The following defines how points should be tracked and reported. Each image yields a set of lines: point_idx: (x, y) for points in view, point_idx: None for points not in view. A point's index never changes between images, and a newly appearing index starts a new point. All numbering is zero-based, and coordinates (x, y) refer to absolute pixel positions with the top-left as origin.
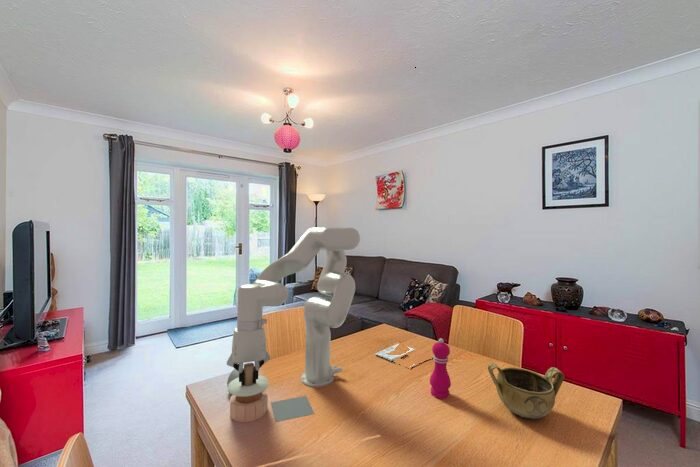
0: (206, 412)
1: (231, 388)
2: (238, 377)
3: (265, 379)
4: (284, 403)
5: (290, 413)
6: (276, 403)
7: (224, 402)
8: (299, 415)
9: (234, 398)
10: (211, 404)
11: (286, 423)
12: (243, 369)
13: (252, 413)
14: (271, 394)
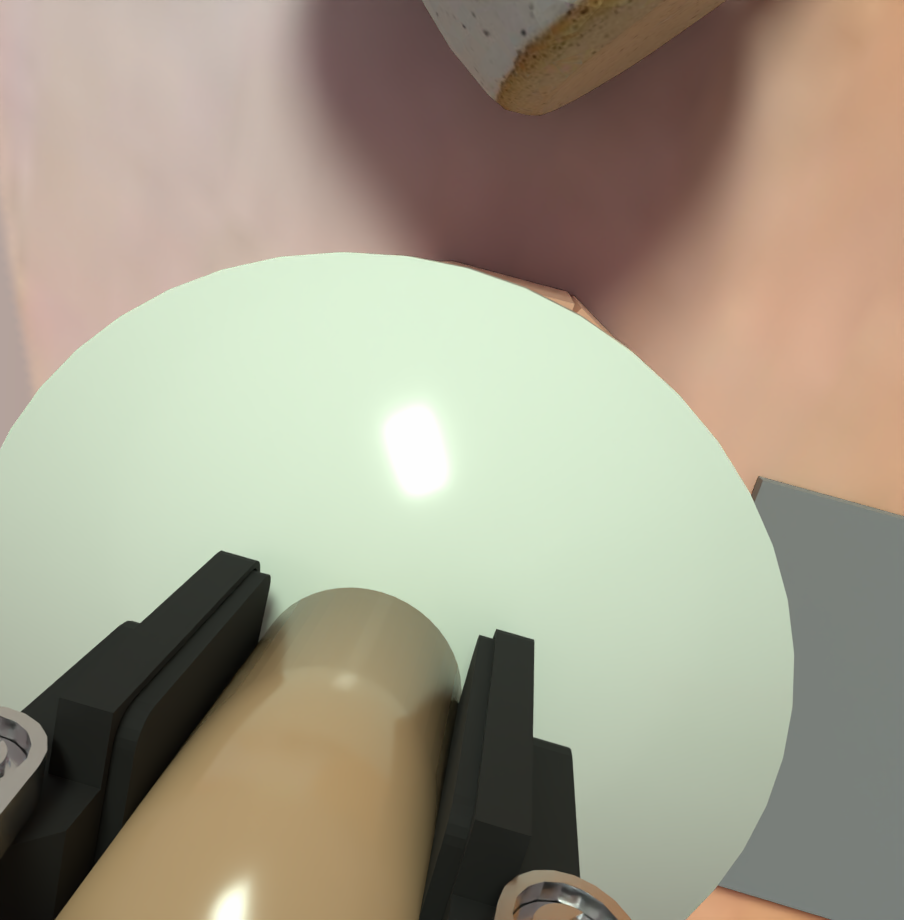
0: (11, 191)
1: (16, 672)
2: (237, 268)
3: (744, 725)
4: (901, 614)
5: (838, 832)
6: (813, 553)
7: (241, 71)
8: (900, 917)
9: None
10: (80, 20)
11: (714, 909)
12: (123, 754)
13: None
14: (891, 253)
